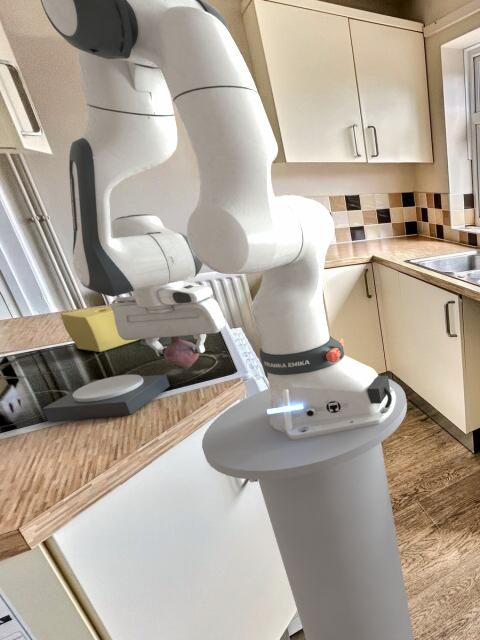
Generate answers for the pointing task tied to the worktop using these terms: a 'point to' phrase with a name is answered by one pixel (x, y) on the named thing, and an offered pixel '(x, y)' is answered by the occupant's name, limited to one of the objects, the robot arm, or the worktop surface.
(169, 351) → the vegetable
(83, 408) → the scale
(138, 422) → the worktop surface
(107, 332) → the cheese
